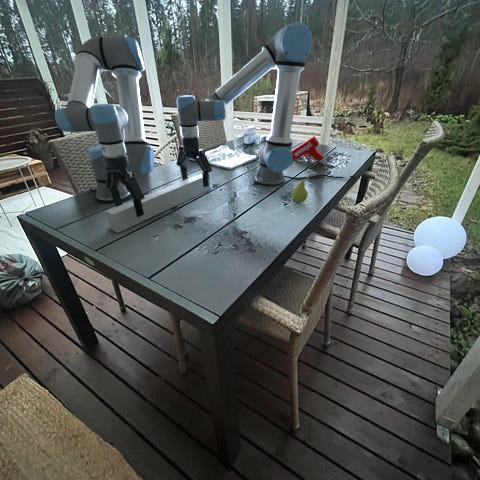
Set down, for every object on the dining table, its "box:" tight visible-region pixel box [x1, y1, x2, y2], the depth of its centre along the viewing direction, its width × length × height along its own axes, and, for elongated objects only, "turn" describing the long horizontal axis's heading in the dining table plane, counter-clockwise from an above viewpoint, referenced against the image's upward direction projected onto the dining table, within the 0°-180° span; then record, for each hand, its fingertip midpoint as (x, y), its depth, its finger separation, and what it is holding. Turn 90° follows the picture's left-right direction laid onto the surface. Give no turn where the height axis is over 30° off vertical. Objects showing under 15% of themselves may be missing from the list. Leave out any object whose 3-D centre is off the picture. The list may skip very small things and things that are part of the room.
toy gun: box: [291, 135, 324, 163], centre depth 171 cm, size 18×4×15 cm
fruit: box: [291, 174, 311, 204], centre depth 118 cm, size 7×8×12 cm
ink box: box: [243, 125, 257, 145], centre depth 212 cm, size 8×5×12 cm, turn 135°
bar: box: [104, 172, 211, 234], centre depth 117 cm, size 51×5×8 cm, turn 144°
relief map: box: [188, 144, 258, 170], centre depth 177 cm, size 27×35×5 cm
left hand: (129, 210), depth 104 cm, fingers open, 13 cm apart
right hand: (195, 183), depth 128 cm, fingers open, 13 cm apart
